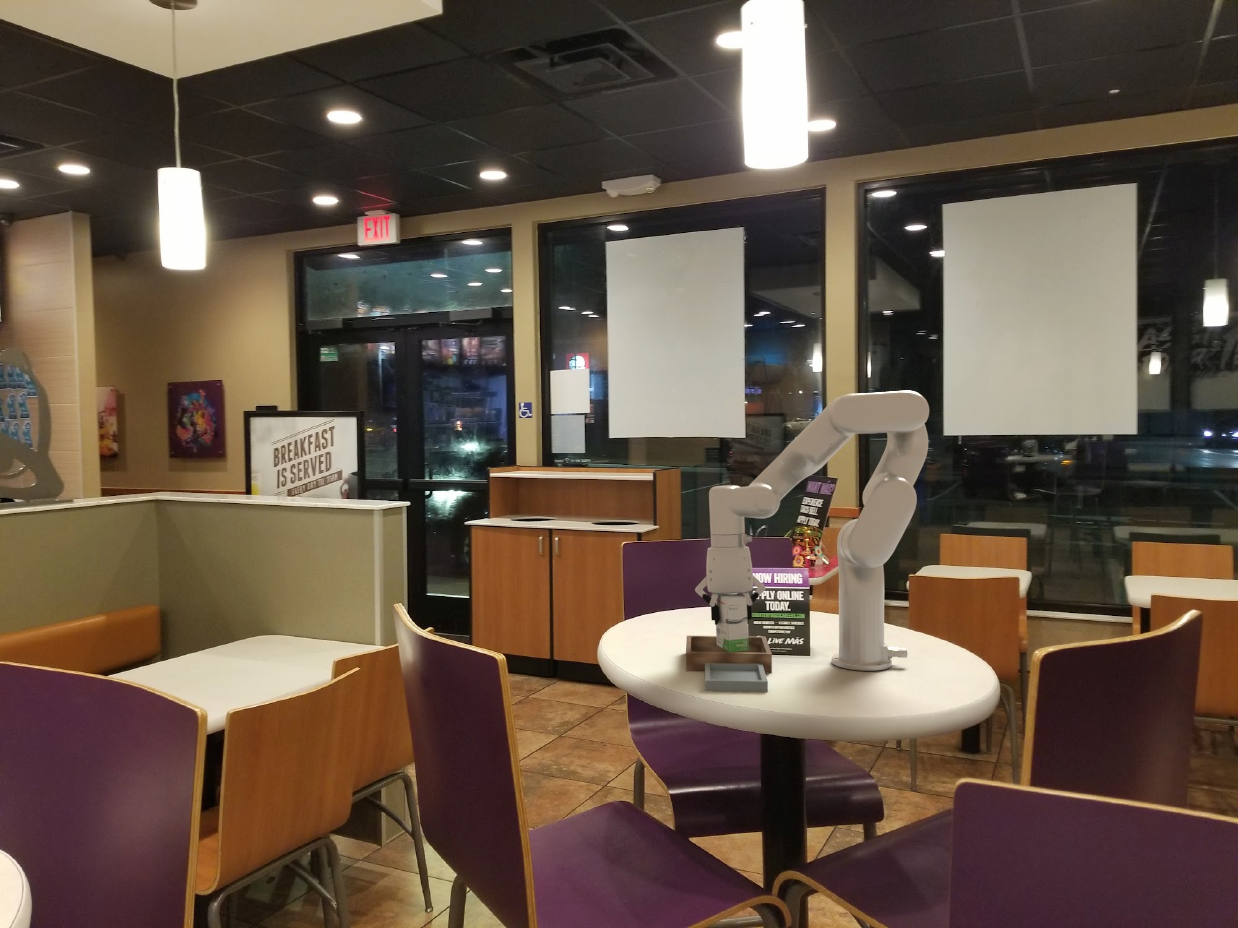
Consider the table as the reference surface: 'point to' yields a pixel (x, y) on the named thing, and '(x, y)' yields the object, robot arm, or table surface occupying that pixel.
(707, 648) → the crate
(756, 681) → the tray
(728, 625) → the ink box
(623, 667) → the table surface
